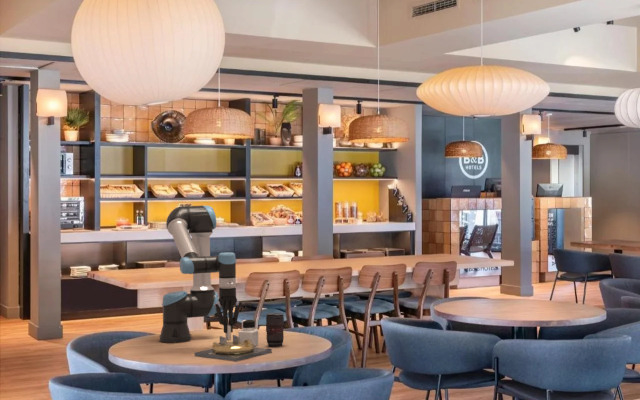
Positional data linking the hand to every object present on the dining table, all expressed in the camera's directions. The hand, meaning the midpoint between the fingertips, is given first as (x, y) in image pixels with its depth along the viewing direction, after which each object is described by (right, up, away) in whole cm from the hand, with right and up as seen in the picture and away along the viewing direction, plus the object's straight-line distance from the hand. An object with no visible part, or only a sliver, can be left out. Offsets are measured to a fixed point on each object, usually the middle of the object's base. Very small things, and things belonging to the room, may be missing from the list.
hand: (228, 340), depth 410 cm
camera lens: (+20, -5, +14) cm, 25 cm away
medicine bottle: (+8, -5, +16) cm, 18 cm away
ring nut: (+3, -4, -5) cm, 7 cm away
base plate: (+3, -5, -5) cm, 8 cm away
